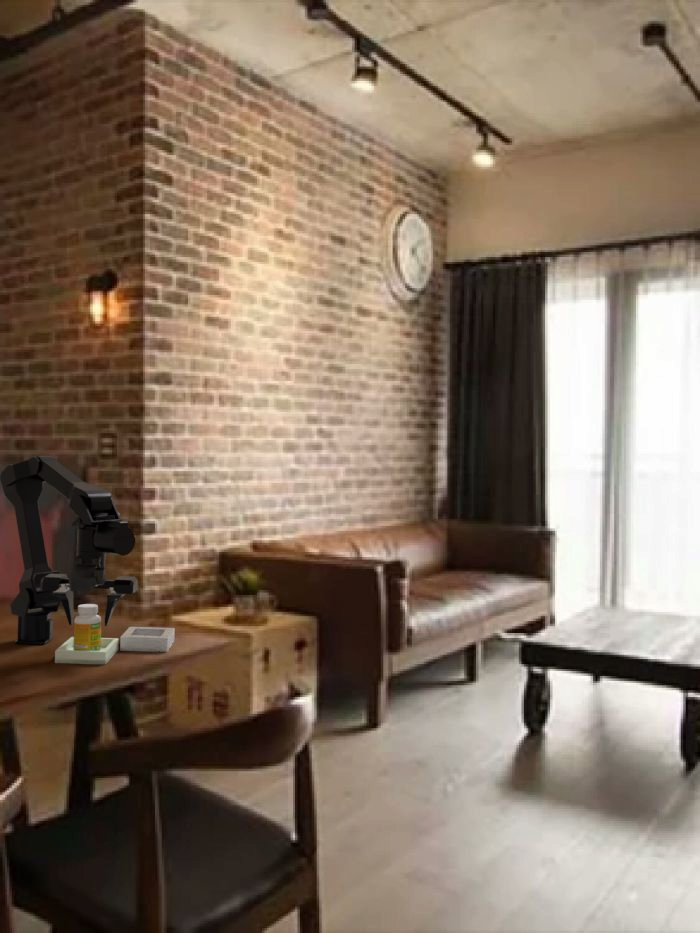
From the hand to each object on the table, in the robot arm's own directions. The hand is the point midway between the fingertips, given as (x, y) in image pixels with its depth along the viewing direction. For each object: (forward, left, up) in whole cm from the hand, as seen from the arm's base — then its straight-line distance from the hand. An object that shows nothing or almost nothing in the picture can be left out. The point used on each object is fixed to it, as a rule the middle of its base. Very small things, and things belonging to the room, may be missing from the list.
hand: (88, 625), depth 180 cm
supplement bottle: (0, 0, -6) cm, 6 cm away
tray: (0, 0, -6) cm, 6 cm away
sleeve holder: (+11, +10, -6) cm, 16 cm away
